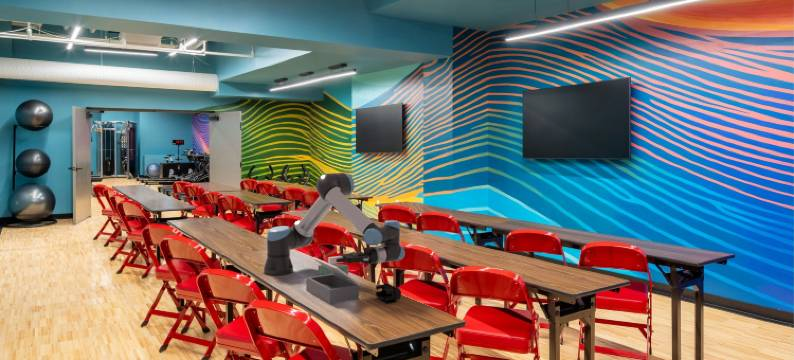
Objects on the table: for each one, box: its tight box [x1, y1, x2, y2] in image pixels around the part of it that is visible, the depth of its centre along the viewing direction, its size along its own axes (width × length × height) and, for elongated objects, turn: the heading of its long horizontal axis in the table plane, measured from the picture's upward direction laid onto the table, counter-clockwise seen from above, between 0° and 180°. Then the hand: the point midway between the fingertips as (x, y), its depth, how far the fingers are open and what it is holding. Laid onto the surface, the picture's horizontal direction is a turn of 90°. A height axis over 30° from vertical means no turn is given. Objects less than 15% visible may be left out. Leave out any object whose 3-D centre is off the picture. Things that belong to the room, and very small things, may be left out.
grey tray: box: [305, 274, 360, 305], centre depth 223 cm, size 24×14×6 cm, turn 34°
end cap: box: [375, 282, 402, 305], centre depth 216 cm, size 10×7×7 cm
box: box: [317, 263, 349, 280], centre depth 249 cm, size 7×14×8 cm, turn 73°
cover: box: [312, 256, 361, 286], centre depth 224 cm, size 24×14×1 cm
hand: (328, 260), depth 222 cm, fingers closed
